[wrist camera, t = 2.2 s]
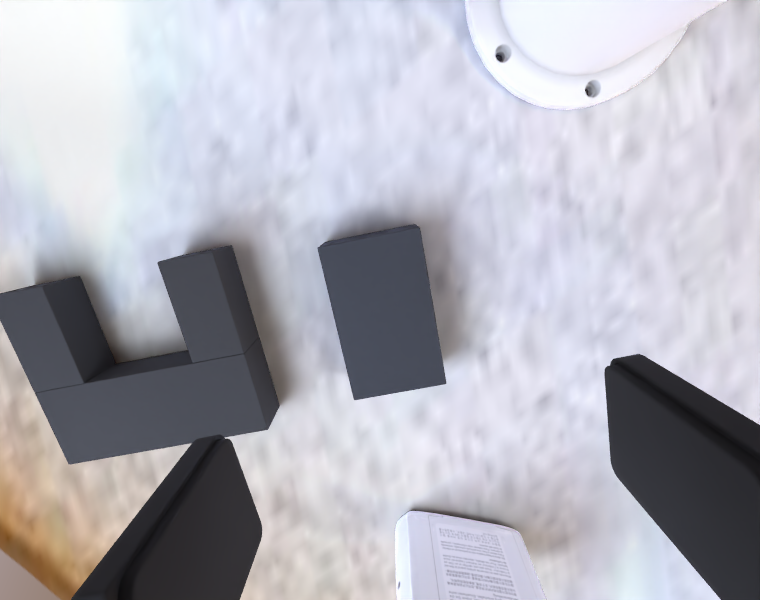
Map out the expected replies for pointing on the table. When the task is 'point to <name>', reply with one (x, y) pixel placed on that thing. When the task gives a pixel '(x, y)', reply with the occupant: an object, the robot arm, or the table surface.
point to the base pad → (145, 364)
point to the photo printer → (461, 560)
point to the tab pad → (383, 311)
